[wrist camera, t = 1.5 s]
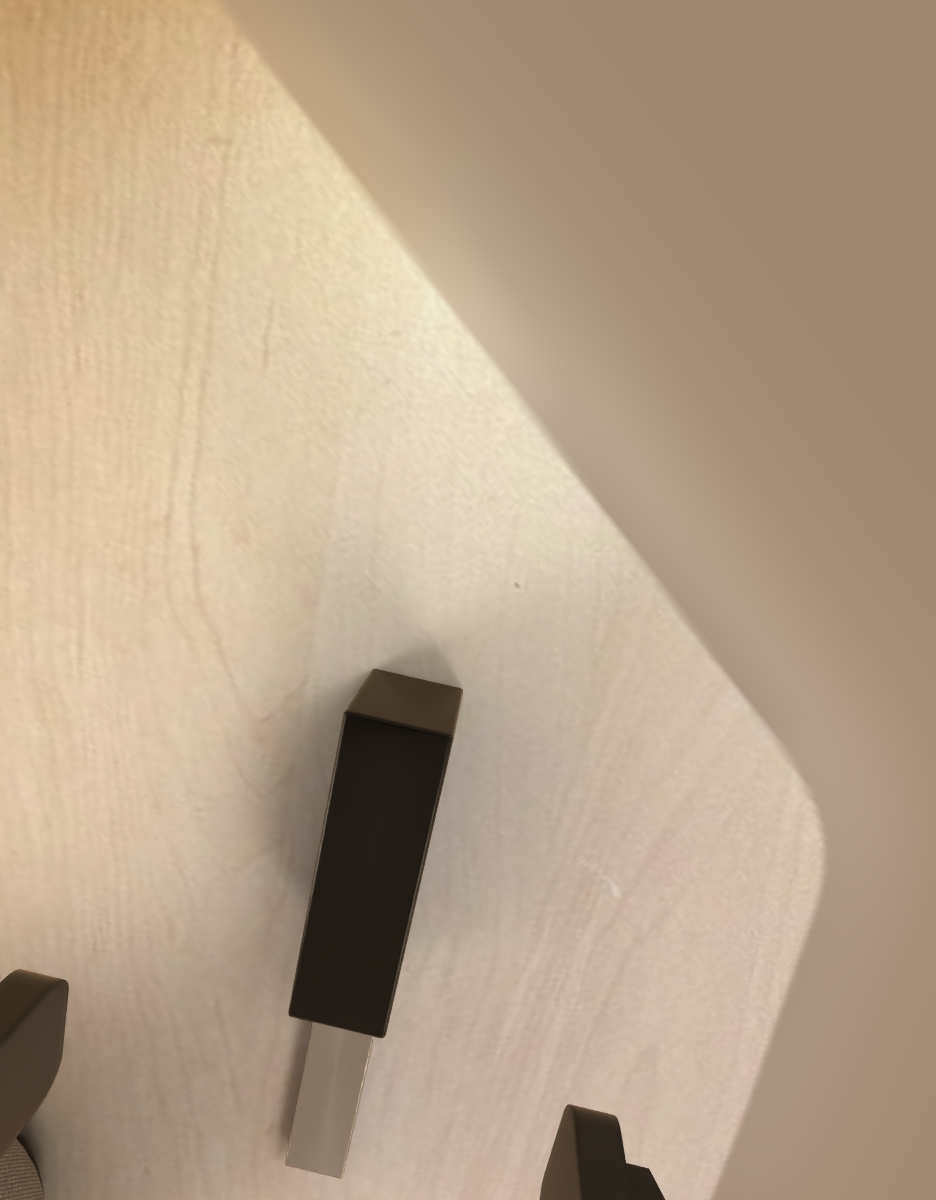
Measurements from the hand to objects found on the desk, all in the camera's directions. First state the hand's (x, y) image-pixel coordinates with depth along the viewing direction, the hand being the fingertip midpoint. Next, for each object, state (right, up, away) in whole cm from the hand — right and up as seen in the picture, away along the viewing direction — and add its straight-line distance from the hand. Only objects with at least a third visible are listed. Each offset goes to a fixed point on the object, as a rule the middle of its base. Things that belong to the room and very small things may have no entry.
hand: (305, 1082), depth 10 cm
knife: (0, -2, +8) cm, 8 cm away
